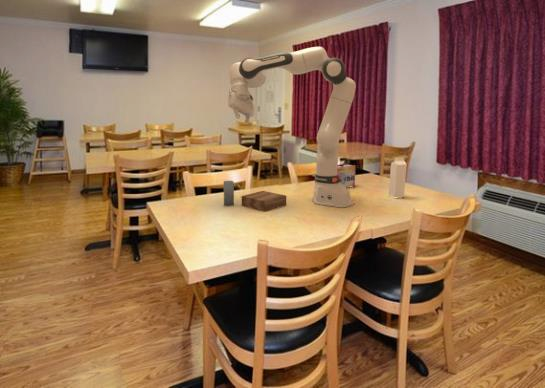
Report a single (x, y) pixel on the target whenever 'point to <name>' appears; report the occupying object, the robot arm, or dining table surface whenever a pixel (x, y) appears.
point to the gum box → (346, 174)
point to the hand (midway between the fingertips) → (242, 120)
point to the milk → (397, 177)
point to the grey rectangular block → (228, 193)
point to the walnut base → (264, 200)
